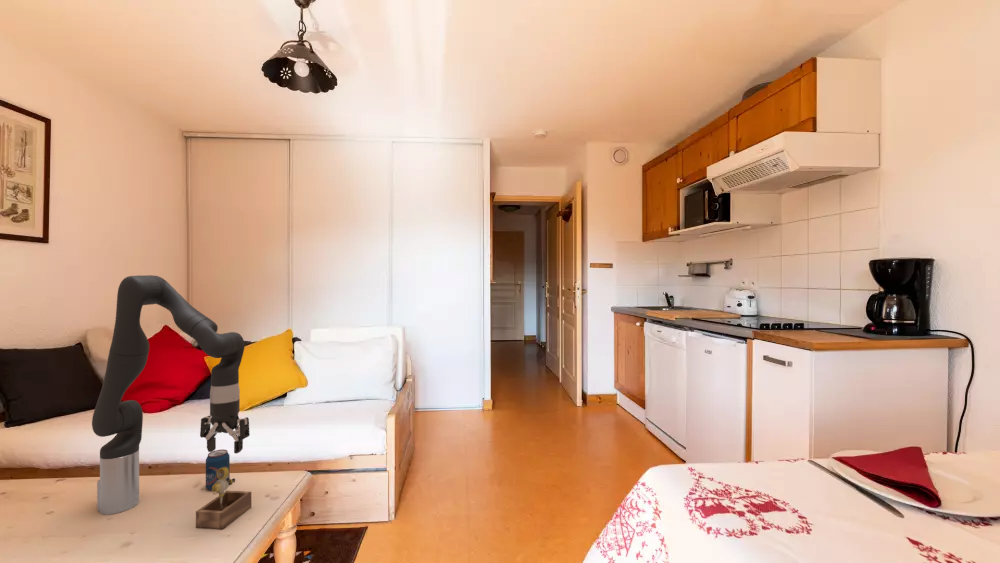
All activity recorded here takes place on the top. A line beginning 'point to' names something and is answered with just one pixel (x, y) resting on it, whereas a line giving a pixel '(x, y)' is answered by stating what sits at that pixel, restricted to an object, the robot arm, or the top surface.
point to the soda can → (216, 466)
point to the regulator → (222, 483)
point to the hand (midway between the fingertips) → (224, 451)
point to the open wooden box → (223, 510)
